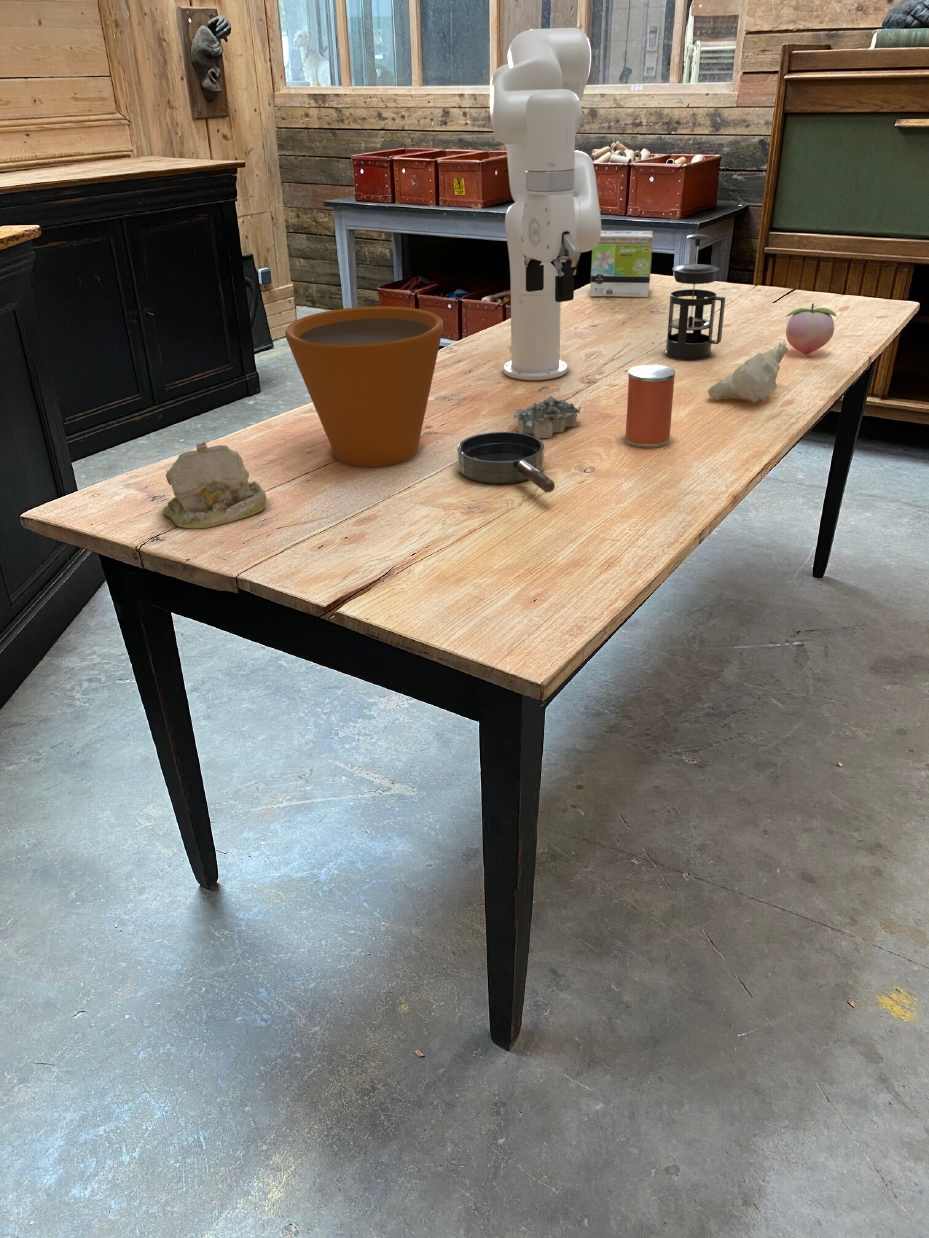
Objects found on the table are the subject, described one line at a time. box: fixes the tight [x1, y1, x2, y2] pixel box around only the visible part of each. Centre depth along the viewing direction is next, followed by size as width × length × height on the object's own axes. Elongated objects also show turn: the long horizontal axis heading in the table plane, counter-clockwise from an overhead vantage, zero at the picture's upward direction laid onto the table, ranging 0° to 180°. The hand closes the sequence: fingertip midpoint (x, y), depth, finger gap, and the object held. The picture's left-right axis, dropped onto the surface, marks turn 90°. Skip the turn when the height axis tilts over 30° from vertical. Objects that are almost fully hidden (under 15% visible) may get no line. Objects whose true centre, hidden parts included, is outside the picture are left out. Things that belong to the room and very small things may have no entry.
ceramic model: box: [162, 441, 267, 529], centre depth 131 cm, size 14×11×10 cm
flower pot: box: [284, 305, 444, 468], centre depth 147 cm, size 24×24×20 cm
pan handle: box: [516, 460, 556, 493], centre depth 132 cm, size 10×2×2 cm, turn 23°
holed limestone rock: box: [707, 342, 789, 403], centre depth 166 cm, size 15×7×15 cm
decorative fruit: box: [785, 303, 838, 355], centre depth 188 cm, size 9×8×10 cm
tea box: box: [589, 230, 654, 299], centre depth 240 cm, size 15×10×15 cm
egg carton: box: [512, 395, 582, 440], centre depth 157 cm, size 11×8×4 cm
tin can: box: [624, 364, 676, 449], centre depth 148 cm, size 7×7×11 cm
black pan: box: [456, 431, 546, 485], centre depth 142 cm, size 13×13×4 cm
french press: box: [664, 233, 726, 362], centre depth 187 cm, size 12×9×23 cm
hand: (549, 295), depth 156 cm, fingers open, 9 cm apart
